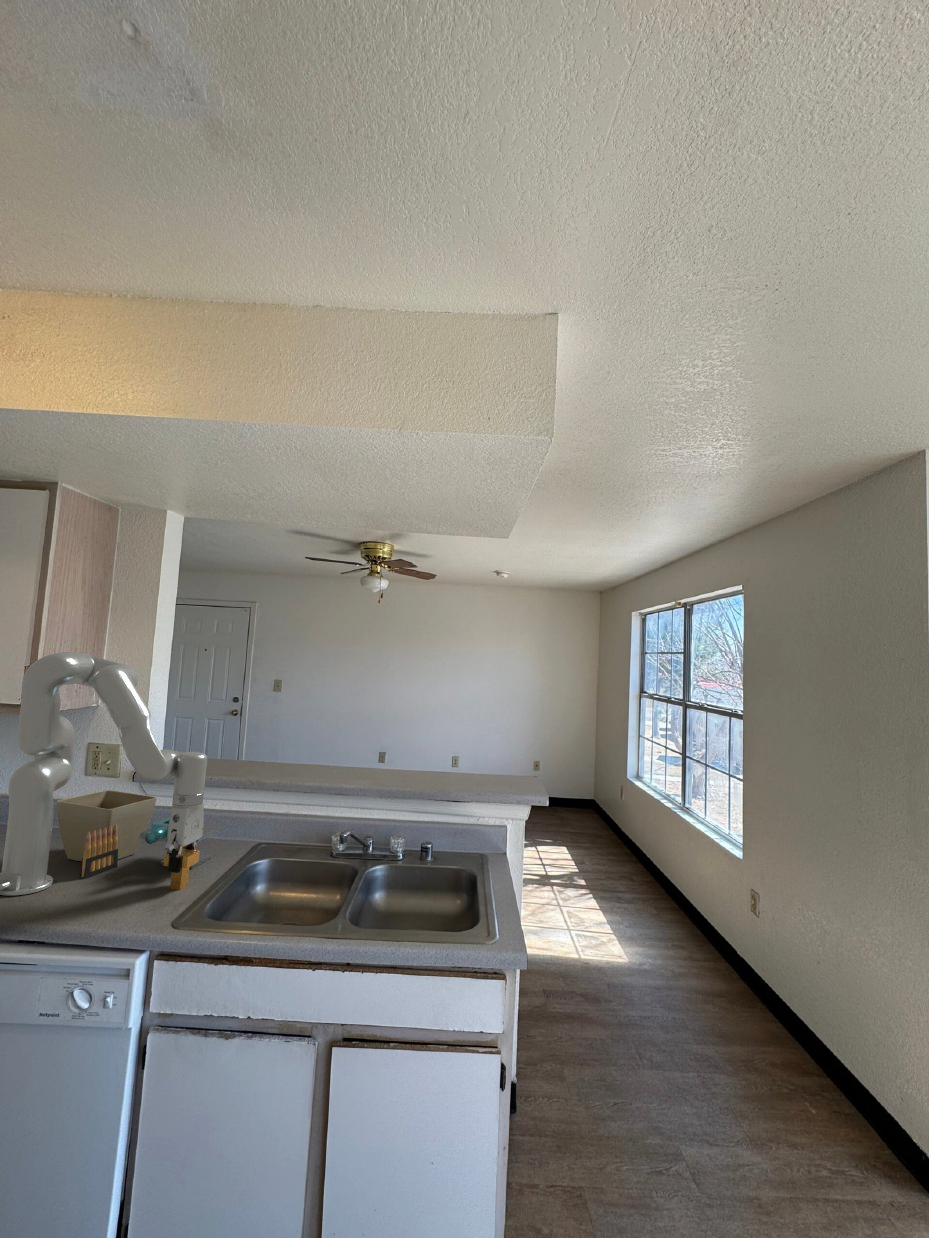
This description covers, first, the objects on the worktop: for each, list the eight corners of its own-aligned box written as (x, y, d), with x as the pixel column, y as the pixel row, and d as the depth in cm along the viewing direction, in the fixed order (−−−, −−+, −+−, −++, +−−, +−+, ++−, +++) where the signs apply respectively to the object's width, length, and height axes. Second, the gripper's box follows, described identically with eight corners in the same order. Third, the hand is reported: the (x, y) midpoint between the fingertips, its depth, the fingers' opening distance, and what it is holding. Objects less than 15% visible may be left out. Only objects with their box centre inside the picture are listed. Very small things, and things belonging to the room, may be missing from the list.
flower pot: (101, 843, 191) (108, 788, 193) (152, 852, 187) (159, 796, 188) (47, 861, 173) (54, 800, 174) (102, 871, 168) (109, 809, 170)
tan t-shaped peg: (196, 884, 164) (199, 850, 165) (184, 892, 159) (187, 856, 159) (173, 881, 165) (177, 847, 166) (161, 889, 159) (164, 854, 160)
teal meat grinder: (172, 852, 188) (178, 803, 189) (221, 858, 186) (226, 808, 187) (117, 880, 163) (123, 823, 164) (172, 887, 161) (179, 829, 162)
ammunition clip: (84, 878, 162) (88, 832, 163) (79, 877, 163) (83, 831, 164) (117, 866, 172) (121, 823, 174) (112, 865, 173) (115, 822, 174)
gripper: (182, 807, 155) (174, 880, 153) (217, 794, 172) (211, 859, 170) (155, 804, 155) (147, 877, 154) (193, 791, 172) (186, 856, 171)
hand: (180, 867), depth 162 cm, fingers closed on tan t-shaped peg, 5 cm apart
